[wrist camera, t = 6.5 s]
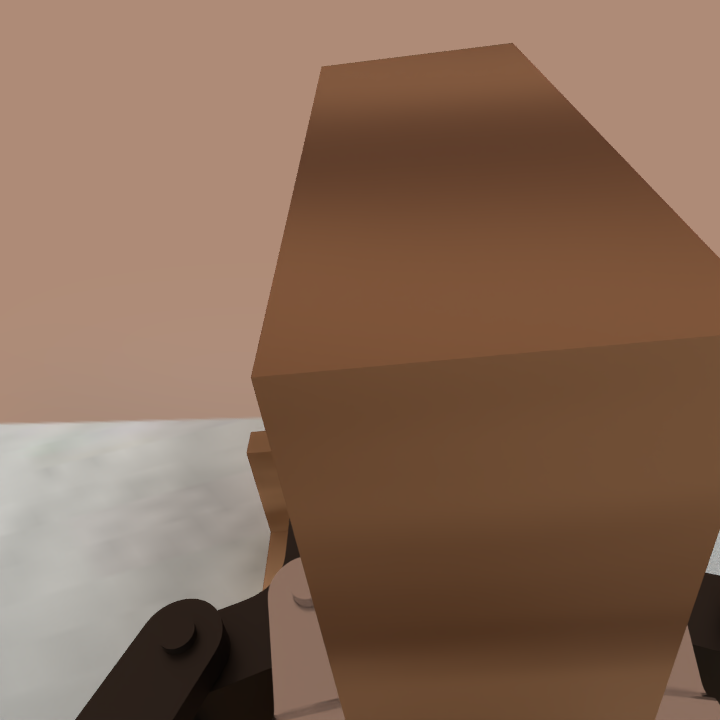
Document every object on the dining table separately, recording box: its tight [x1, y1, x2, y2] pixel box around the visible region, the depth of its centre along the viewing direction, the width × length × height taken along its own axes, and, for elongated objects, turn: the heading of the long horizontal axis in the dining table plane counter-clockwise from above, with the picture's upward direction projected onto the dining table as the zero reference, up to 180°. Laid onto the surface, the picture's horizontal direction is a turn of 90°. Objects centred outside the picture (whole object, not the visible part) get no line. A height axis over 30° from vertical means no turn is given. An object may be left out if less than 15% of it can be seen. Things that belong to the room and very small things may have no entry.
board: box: [251, 43, 720, 720], centre depth 12 cm, size 8×3×16 cm, turn 0°
